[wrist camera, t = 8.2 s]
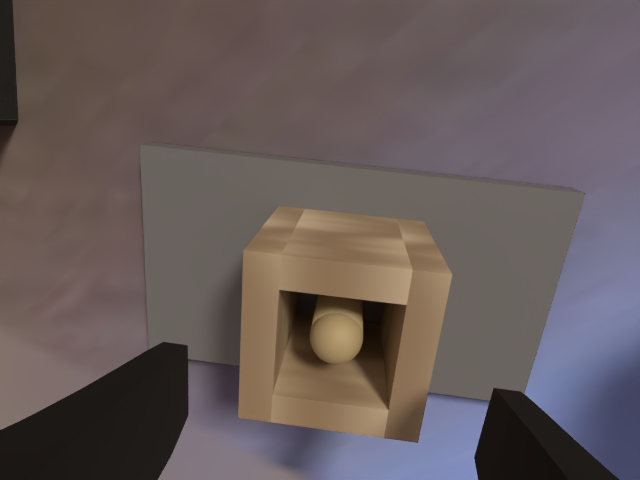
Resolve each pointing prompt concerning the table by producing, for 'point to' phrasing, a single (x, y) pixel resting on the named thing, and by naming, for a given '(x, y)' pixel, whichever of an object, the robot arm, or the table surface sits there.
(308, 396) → the bead
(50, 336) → the table surface
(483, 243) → the grey peg stand
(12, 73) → the ammunition clip
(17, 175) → the table surface
